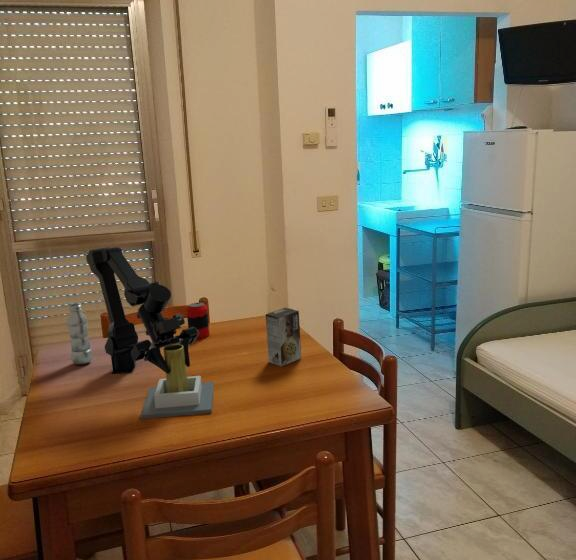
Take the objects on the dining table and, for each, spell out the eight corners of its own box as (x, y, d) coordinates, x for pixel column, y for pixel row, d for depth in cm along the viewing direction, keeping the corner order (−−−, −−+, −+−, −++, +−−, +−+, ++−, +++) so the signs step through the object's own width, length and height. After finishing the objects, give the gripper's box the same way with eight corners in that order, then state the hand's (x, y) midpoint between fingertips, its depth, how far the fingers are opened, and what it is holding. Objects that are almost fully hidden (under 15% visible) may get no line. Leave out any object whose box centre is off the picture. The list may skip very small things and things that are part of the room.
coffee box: (287, 354, 183) (285, 307, 179) (302, 358, 178) (299, 310, 175) (267, 362, 176) (264, 313, 173) (281, 367, 172) (279, 317, 168)
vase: (194, 396, 151) (189, 346, 148) (176, 403, 147) (170, 352, 144) (181, 390, 155) (176, 342, 152) (163, 398, 151) (157, 348, 148)
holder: (140, 418, 142) (139, 402, 141) (151, 390, 159) (149, 375, 158) (211, 412, 143) (210, 396, 142) (214, 384, 161) (212, 370, 160)
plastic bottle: (94, 364, 182) (86, 305, 177) (72, 368, 179) (63, 308, 175) (93, 358, 188) (85, 301, 183) (71, 361, 185) (63, 304, 181)
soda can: (210, 332, 210) (207, 301, 207) (208, 338, 202) (206, 306, 200) (190, 333, 209) (187, 302, 207) (187, 339, 202) (185, 308, 199)
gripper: (131, 313, 142) (156, 365, 137) (192, 298, 154) (218, 345, 149) (120, 336, 150) (144, 385, 144) (180, 320, 162) (204, 365, 156)
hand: (179, 369), depth 148 cm, fingers open, 6 cm apart
